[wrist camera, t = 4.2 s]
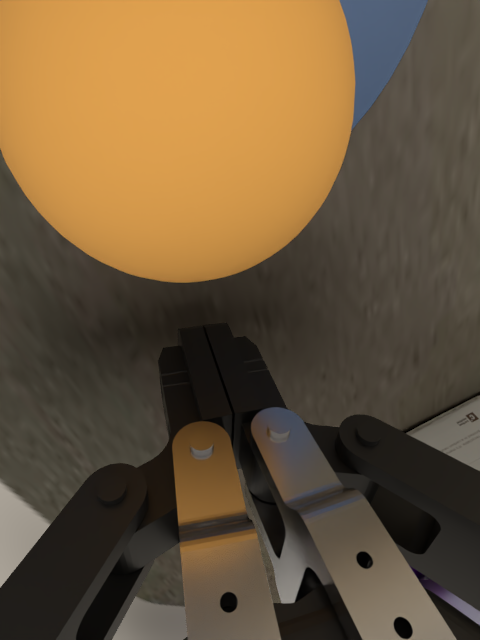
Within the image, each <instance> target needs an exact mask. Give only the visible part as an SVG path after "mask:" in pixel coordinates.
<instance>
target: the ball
mask: <svg viewBox="0 0 480 640" xmlns="http://www.w3.org/2000/svg"><path fill="white" fill-rule="evenodd" d="M354 100H355V70H354V59H353V51H352V43H351V39H350V34H349V30H348V26H347V21H346V18H345V15H344V12H343V9H342V6H341V3H340V1H339V0H0V149H1V152H2V154H3V157H4V159H5V162H6V164H7V165H8V167H9V169H10V170H11V172H12V174H13V176H14V177H15V179H16V181H17V182H18V184H19V186H20V187H21V189H22V190H23V192H24V193H25V195H26V197H27V198H28V199H29V200H30V202H31V203H32V204H33V205H34V207H35V208H36V209H37V210H38V212H39V213H40V214H41V215H42V216H43V217H44V218H45V219H46V220H47V221H48V222H49V223H50V224H51V225H52V226H53V227H54V228H55V229H56V230H57V231H58V232H59V233H60V234H61V235H62V236H63V237H65V238H66V239H67V240H69V241H70V242H71V243H73V244H74V245H75V246H77V247H78V248H80V249H81V250H82V251H84V252H85V253H86V254H88V255H89V256H91V257H93V258H95V259H97V260H98V261H100V262H102V263H104V264H107V265H109V266H111V267H113V268H116V269H118V270H120V271H123V272H125V273H128V274H131V275H135V276H138V277H142V278H147V279H153V280H158V281H164V282H174V283H189V282H200V281H207V280H213V279H218V278H223V277H226V276H230V275H233V274H236V273H239V272H241V271H244V270H246V269H248V268H251V267H253V266H255V265H257V264H258V263H260V262H262V261H264V260H265V259H267V258H269V257H270V256H272V255H273V254H275V253H276V252H278V251H279V250H281V249H282V248H283V247H284V246H286V245H287V244H288V243H289V242H290V241H291V240H293V239H294V238H295V237H296V236H297V235H298V234H299V233H300V232H301V231H302V229H303V228H304V227H305V226H306V225H307V224H308V223H309V221H310V220H311V219H312V218H313V216H314V215H315V214H316V212H317V211H318V210H319V208H320V207H321V205H322V204H323V202H324V200H325V199H326V197H327V196H328V194H329V192H330V190H331V188H332V186H333V183H334V181H335V179H336V177H337V175H338V173H339V171H340V168H341V166H342V163H343V160H344V157H345V153H346V150H347V146H348V142H349V138H350V134H351V128H352V123H353V116H354Z"/></svg>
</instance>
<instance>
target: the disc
mask: <svg viewBox="0 0 480 640" xmlns="http://www.w3.org/2000/svg"><path fill="white" fill-rule="evenodd" d="M339 1H340V3H341V6H342V9H343V12H344V15H345V18H346V21H347V26H348V30H349V34H350V39H351V43H352V51H353V59H354V70H355V100H354V116H353V123H352V128H351V130H352V129H353V128H354V127H355V126H356V124H357V123H358V122H359V121H360V120H361V118H362V117H363V116H364V115H365V113H366V112H367V111H368V110H369V109H370V107H371V106H372V105H373V103H374V102H375V100H376V99H377V97H378V96H379V94H380V93H381V91H382V90H383V88H384V87H385V85H386V84H387V82H388V81H389V79H390V78H391V76H392V74H393V73H394V71H395V69H396V67H397V65H398V63H399V62H400V60H401V58H402V56H403V54H404V52H405V51H406V49H407V47H408V45H409V43H410V41H411V38H412V36H413V34H414V32H415V29H416V27H417V25H418V23H419V20H420V18H421V16H422V14H423V11H424V9H425V6H426V4H427V1H428V0H339Z"/></svg>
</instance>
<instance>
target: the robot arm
mask: <svg viewBox="0 0 480 640" xmlns="http://www.w3.org/2000/svg"><path fill="white" fill-rule="evenodd" d="M158 364H159V374H160V384H161V394H162V401H163V407H164V413H165V418H166V424H167V430H168V436H169V441H168V443H167V446H166V447H165V448H164V450H163V451H162V452H161V453H160V454H159V455H158V456H157V457H155V458H154V459H152V460H151V461H149V462H147V463H145V464H143V465H141V466H139V467H138V468H135V467H134V466H131V465H128V464H123V463H119V464H111V465H108V466H105V467H103V468H100V469H99V470H97V471H96V472H94V473H93V474H92V475H91V476H90V477H89V478H88V479H87V480H86V481H85V482H84V484H83V485H82V486H81V487H80V489H79V490H78V491H77V492H76V494H75V495H74V496H73V497H72V499H71V500H70V501H69V502H68V504H67V505H66V506H65V507H64V509H63V510H62V511H61V512H60V514H59V515H58V516H57V517H56V519H55V520H54V521H53V522H52V524H51V525H50V526H49V527H48V529H47V530H46V531H45V533H44V534H43V535H42V536H41V538H40V539H39V540H38V541H37V543H36V544H35V545H34V546H33V548H32V549H31V550H30V551H29V553H28V554H27V555H26V556H25V558H24V559H23V560H22V561H21V563H20V564H19V565H18V567H17V568H16V569H15V570H14V572H13V573H12V574H11V575H10V576H9V578H8V579H7V581H6V582H5V583H4V584H3V585H2V587H1V588H0V640H112V638H113V636H114V635H115V633H116V631H117V629H118V627H119V625H120V623H121V622H122V620H123V618H124V616H125V614H126V612H127V611H128V609H129V607H130V605H131V603H132V602H133V600H134V598H135V596H136V594H137V592H138V590H139V589H140V587H141V585H142V583H143V581H144V579H145V578H146V576H147V574H148V572H149V570H150V568H151V567H152V565H153V562H154V560H155V558H157V557H158V556H160V555H161V554H163V553H164V552H166V551H167V550H169V549H170V548H172V547H173V546H175V545H176V544H178V543H179V542H180V551H181V563H182V575H183V588H184V600H185V612H186V625H187V637H186V638H185V639H184V640H480V625H479V624H477V623H476V622H474V621H473V620H472V619H470V618H469V617H467V616H466V615H464V614H463V613H462V612H460V611H459V610H457V609H456V608H455V607H453V606H452V605H450V604H449V603H448V602H446V601H445V600H443V599H442V598H440V597H439V596H438V595H436V594H435V593H433V592H432V591H430V590H428V589H426V588H425V587H423V586H422V585H421V583H420V582H419V580H418V579H417V577H416V575H415V574H414V572H413V571H412V569H411V568H410V566H411V567H413V568H414V569H416V570H417V571H419V572H420V573H422V574H423V575H425V576H426V577H428V578H430V579H431V580H433V581H434V582H436V583H437V584H439V585H440V586H442V587H443V588H445V589H446V590H448V591H449V592H451V593H452V594H454V595H455V596H457V597H458V598H460V599H461V600H463V601H465V602H466V603H468V604H469V605H471V606H472V607H474V608H475V609H477V610H478V611H480V471H478V470H476V469H474V468H473V467H471V466H469V465H467V464H465V463H463V462H461V461H459V460H457V459H455V458H453V457H451V456H449V455H447V454H445V453H443V452H441V451H439V450H437V449H435V448H433V447H431V446H429V445H427V444H426V443H424V442H422V441H420V440H418V439H416V438H414V437H412V436H410V435H408V434H406V433H404V432H402V431H400V430H398V429H396V428H394V427H392V426H390V425H388V424H386V423H384V422H382V421H380V420H378V419H376V418H374V417H371V416H368V415H353V416H350V417H347V418H346V419H345V420H344V421H343V422H342V423H341V425H340V427H330V426H319V425H312V424H309V423H306V422H303V420H302V419H301V418H300V417H299V416H298V415H297V414H295V413H294V412H292V411H290V410H288V409H287V407H286V405H285V403H284V401H283V399H282V397H281V395H280V393H279V391H278V389H277V387H276V385H275V383H274V381H273V379H272V377H271V375H270V372H269V370H267V366H266V364H265V362H264V360H263V359H262V356H261V354H260V352H259V350H258V348H257V346H256V345H255V344H254V343H253V342H251V341H250V340H249V339H248V338H247V337H245V336H244V337H237V338H233V335H232V333H231V331H230V328H229V326H228V324H227V323H219V324H211V325H204V326H203V327H202V326H197V327H189V328H182V329H178V346H174V347H167V348H163V350H162V353H161V355H160V358H159V360H158ZM240 468H242V470H243V474H244V477H245V480H246V482H245V494H246V498H247V500H248V503H249V505H250V508H251V510H252V513H253V515H254V518H255V520H256V523H257V525H258V528H259V530H260V533H261V535H262V538H263V541H264V543H265V546H266V548H267V551H268V553H269V556H270V558H271V561H272V564H273V567H274V571H275V579H276V584H277V589H278V592H279V596H280V599H281V602H282V603H273V601H272V597H271V593H270V589H269V584H268V580H267V576H266V571H265V567H264V563H263V558H262V554H261V550H260V546H259V541H258V537H257V533H256V530H255V526H254V524H253V522H252V520H251V519H249V518H248V515H247V512H246V508H245V503H244V499H243V494H242V490H241V485H240V481H239V476H238V472H237V469H240ZM409 565H410V566H409Z"/></svg>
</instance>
